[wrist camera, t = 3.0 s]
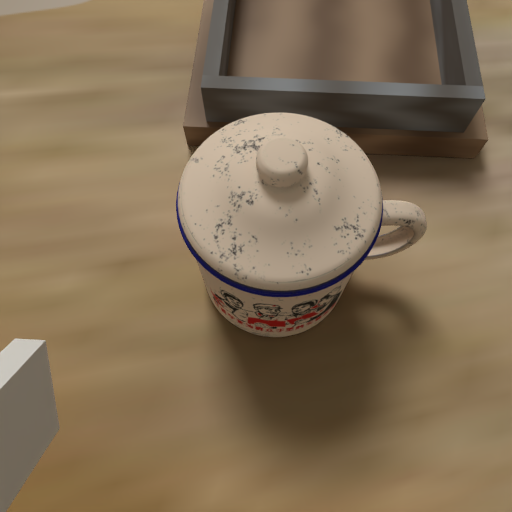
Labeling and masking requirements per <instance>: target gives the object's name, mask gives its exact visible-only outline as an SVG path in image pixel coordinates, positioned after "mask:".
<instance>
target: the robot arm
mask: <svg viewBox="0 0 512 512" xmlns="http://www.w3.org/2000/svg"><path fill="white" fill-rule="evenodd" d="M58 430H59V422H58V415H57V409H56V403H55V397H54V390H53V384H52V378H51V372H50V366H49V359H48V353H47V347H46V341H45V340H31V339H14V340H13V341H12V342H11V343H10V344H9V345H8V346H7V347H6V348H5V349H4V350H3V351H1V352H0V512H6V511H7V509H8V508H9V506H10V505H11V503H12V501H13V500H14V498H15V497H16V495H17V494H18V492H19V491H20V489H21V487H22V486H23V484H24V483H25V481H26V480H27V478H28V477H29V475H30V473H31V472H32V470H33V469H34V467H35V466H36V464H37V463H38V461H39V460H40V458H41V456H42V455H43V453H44V452H45V450H46V449H47V447H48V446H49V444H50V442H51V441H52V439H53V438H54V436H55V435H56V433H57V432H58Z"/></svg>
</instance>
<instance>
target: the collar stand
mask: <svg viewBox="0 0 512 512" xmlns="http://www.w3.org/2000/svg"><path fill="white" fill-rule="evenodd" d="M484 100H485V94H484V89H483V84H482V78H481V73H480V68H479V63H478V58H477V52H476V47H475V42H474V37H473V31H472V26H471V21H470V16H469V11H468V5H467V0H204V3H203V9H202V15H201V21H200V28H199V34H198V40H197V46H196V52H195V58H194V64H193V70H192V76H191V82H190V88H189V94H188V100H187V106H186V112H185V118H184V124H183V128H184V132H185V136H186V140H187V144H188V145H191V146H200V145H201V144H202V143H203V142H204V141H205V140H206V139H207V138H209V137H210V136H211V135H212V134H214V133H215V132H216V131H218V130H219V129H221V128H222V127H224V126H226V125H228V124H230V123H232V122H234V121H237V120H239V119H242V118H245V117H248V116H253V115H257V114H264V113H294V114H300V115H305V116H309V117H312V118H315V119H318V120H321V121H323V122H326V123H328V124H330V125H332V126H334V127H336V128H337V129H339V130H340V131H342V132H343V133H345V134H346V135H347V136H349V137H350V138H351V139H352V140H353V141H354V142H355V143H356V144H357V145H358V146H359V147H360V148H361V149H362V150H363V152H364V153H367V154H389V155H411V156H433V157H455V158H475V157H476V156H477V154H478V153H479V152H480V150H481V149H482V147H483V146H484V145H485V143H486V142H487V141H488V136H487V130H486V125H485V120H484V114H483V109H482V104H483V102H484Z"/></svg>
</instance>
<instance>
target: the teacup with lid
mask: <svg viewBox="0 0 512 512" xmlns="http://www.w3.org/2000/svg"><path fill="white" fill-rule="evenodd" d="M176 211H177V220H178V224H179V228H180V231H181V234H182V237H183V239H184V241H185V243H186V245H187V247H188V248H189V250H190V252H191V253H192V254H193V256H194V257H195V258H196V260H197V263H198V266H199V269H200V272H201V274H202V277H203V280H204V283H205V286H206V289H207V292H208V294H209V296H210V299H211V301H212V302H213V304H214V305H215V307H216V308H217V309H218V311H219V312H220V313H221V314H222V315H223V316H224V317H225V318H226V319H227V320H228V321H229V322H231V323H232V324H234V325H235V326H237V327H239V328H240V329H242V330H245V331H247V332H249V333H252V334H256V335H260V336H266V337H285V336H291V335H295V334H298V333H301V332H304V331H306V330H308V329H310V328H312V327H313V326H315V325H317V324H318V323H319V322H321V321H322V320H323V319H324V318H325V317H326V316H327V315H328V314H329V313H330V312H331V311H332V309H333V308H334V307H335V305H336V304H337V302H338V300H339V298H340V296H341V294H342V292H343V290H344V289H345V287H346V285H347V283H348V281H349V279H350V277H351V275H352V273H353V271H354V270H355V269H356V268H357V267H358V266H359V265H360V264H361V263H362V262H363V261H364V260H368V259H377V258H382V257H386V256H390V255H393V254H396V253H398V252H401V251H403V250H405V249H407V248H409V247H410V246H412V245H413V244H415V243H416V242H417V241H418V240H419V239H420V238H421V237H422V236H423V235H424V233H425V231H426V228H427V223H426V218H425V214H424V212H423V211H422V209H421V208H420V207H418V206H417V205H415V204H413V203H410V202H406V201H398V200H383V199H382V192H381V187H380V182H379V179H378V176H377V174H376V172H375V169H374V167H373V165H372V164H371V162H370V160H369V159H368V157H367V156H366V154H365V153H364V152H363V150H362V149H361V148H360V147H359V146H358V145H357V144H356V143H355V142H354V141H353V140H352V139H351V138H350V137H349V136H347V135H346V134H345V133H343V132H342V131H340V130H339V129H337V128H336V127H334V126H332V125H330V124H328V123H326V122H323V121H321V120H318V119H315V118H312V117H309V116H305V115H300V114H294V113H264V114H257V115H253V116H248V117H245V118H242V119H239V120H237V121H234V122H232V123H230V124H228V125H226V126H224V127H222V128H221V129H219V130H218V131H216V132H215V133H214V134H212V135H211V136H210V137H209V138H207V139H206V140H205V141H204V142H203V143H202V144H201V145H200V146H199V147H198V149H197V150H196V151H195V152H194V154H193V155H192V156H191V158H190V160H189V161H188V163H187V165H186V167H185V169H184V171H183V174H182V177H181V180H180V183H179V187H178V192H177V200H176ZM382 225H399V226H400V227H399V228H397V229H395V230H393V231H391V232H389V233H387V234H384V235H381V236H378V235H379V232H380V228H381V226H382Z"/></svg>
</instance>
